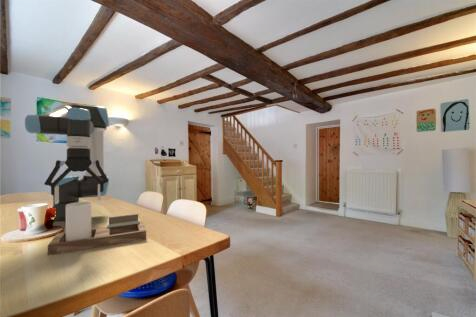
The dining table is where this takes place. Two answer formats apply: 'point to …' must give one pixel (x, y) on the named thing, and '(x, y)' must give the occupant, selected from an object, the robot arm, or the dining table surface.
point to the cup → (78, 221)
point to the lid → (123, 220)
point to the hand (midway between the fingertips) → (78, 201)
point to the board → (98, 238)
